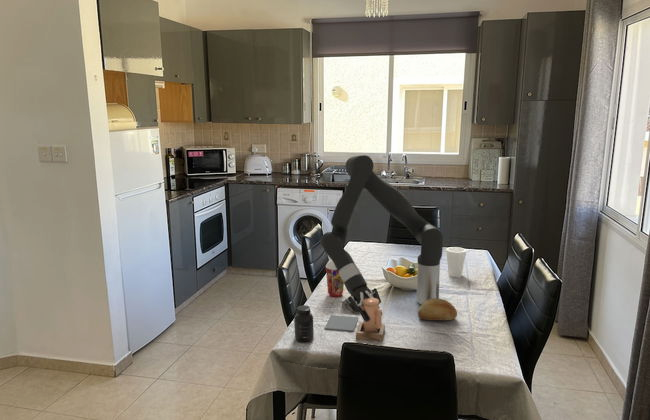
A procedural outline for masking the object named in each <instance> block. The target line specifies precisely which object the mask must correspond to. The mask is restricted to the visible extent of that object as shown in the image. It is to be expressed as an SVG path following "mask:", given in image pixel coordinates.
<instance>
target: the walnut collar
mask: <svg viewBox="0 0 650 420" xmlns="http://www.w3.org/2000/svg"><path fill="white" fill-rule="evenodd" d="M385 330H386V324H385V323H383V322H382V324H381V328H380V329H378V333H372V332H364V321H359V323H358V326H357V327H356V331H355V339H356V340H362V341H363V340H364V341H370V342H371V341H374V342H383V340H384V334H385Z"/></svg>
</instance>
